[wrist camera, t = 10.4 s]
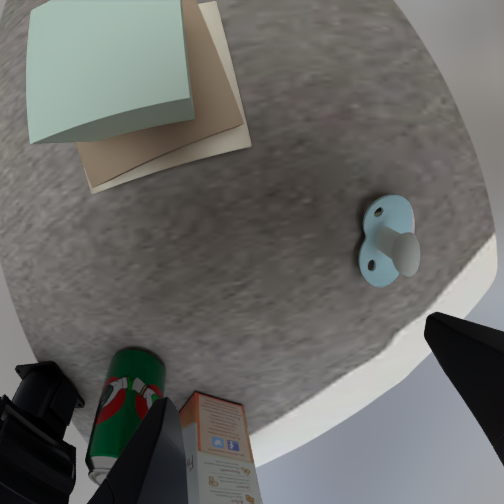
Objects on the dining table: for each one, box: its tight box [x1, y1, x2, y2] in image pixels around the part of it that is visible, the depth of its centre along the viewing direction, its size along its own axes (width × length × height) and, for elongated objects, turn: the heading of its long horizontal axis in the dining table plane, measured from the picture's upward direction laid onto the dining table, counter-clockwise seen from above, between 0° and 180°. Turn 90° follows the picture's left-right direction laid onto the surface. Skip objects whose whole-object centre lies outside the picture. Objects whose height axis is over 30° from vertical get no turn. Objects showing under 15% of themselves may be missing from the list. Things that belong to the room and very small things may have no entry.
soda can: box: [85, 350, 166, 486], centre depth 17 cm, size 5×5×12 cm
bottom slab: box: [84, 1, 252, 194], centre depth 15 cm, size 10×10×3 cm
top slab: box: [75, 0, 244, 188], centre depth 12 cm, size 8×8×3 cm
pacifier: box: [358, 194, 420, 287], centre depth 19 cm, size 7×6×6 cm
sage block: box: [26, 0, 195, 144], centre depth 8 cm, size 5×5×6 cm
